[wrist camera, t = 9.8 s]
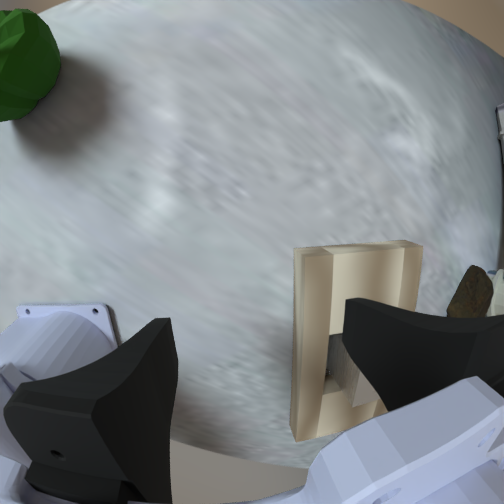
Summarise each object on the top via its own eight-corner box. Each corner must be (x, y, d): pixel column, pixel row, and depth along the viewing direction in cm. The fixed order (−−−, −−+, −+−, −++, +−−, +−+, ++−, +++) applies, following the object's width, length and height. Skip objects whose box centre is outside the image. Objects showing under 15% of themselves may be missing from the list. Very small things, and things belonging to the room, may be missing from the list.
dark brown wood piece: (405, 408, 28) (424, 430, 24) (385, 409, 27) (403, 433, 23) (478, 270, 25) (507, 282, 20) (463, 260, 24) (494, 272, 20)
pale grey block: (324, 364, 23) (352, 407, 18) (328, 325, 22) (361, 365, 17) (363, 355, 24) (396, 393, 18) (369, 317, 23) (408, 351, 17)
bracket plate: (289, 424, 25) (295, 442, 22) (293, 248, 20) (304, 257, 18) (376, 402, 26) (387, 416, 24) (404, 239, 22) (423, 246, 19)
